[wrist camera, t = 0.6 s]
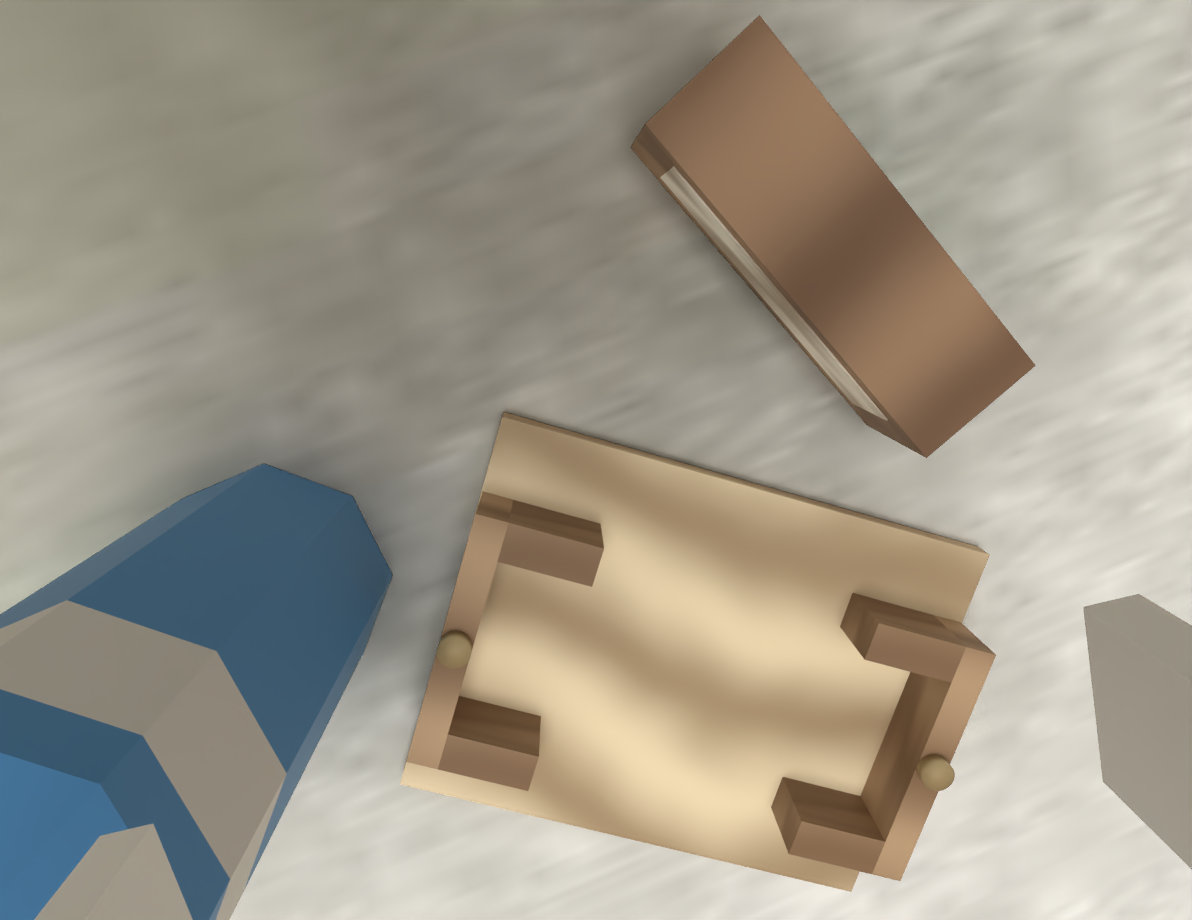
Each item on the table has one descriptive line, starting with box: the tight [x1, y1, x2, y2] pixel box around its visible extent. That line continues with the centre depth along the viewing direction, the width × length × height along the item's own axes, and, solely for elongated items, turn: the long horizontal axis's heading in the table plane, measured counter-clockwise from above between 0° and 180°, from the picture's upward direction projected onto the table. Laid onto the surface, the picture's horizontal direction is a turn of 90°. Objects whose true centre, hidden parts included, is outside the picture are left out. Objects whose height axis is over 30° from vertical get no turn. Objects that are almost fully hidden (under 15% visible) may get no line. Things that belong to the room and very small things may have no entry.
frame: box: [631, 15, 1035, 458], centre depth 31 cm, size 14×5×6 cm, turn 42°
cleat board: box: [400, 412, 996, 892], centre depth 35 cm, size 16×20×5 cm
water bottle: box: [0, 464, 392, 920], centre depth 23 cm, size 9×9×25 cm
